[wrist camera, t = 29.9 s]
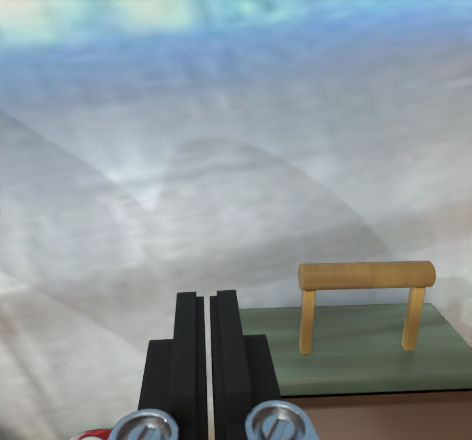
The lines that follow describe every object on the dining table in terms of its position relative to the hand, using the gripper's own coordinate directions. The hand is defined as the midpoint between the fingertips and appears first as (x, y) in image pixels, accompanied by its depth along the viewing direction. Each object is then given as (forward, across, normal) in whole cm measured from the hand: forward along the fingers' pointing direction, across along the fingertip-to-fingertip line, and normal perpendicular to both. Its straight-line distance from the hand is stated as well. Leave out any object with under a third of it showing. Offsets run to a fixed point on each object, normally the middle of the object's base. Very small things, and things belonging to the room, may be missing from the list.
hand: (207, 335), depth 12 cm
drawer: (+14, -9, +13) cm, 21 cm away
